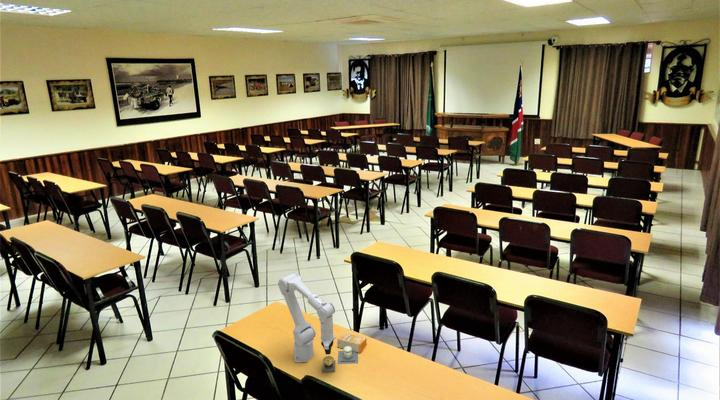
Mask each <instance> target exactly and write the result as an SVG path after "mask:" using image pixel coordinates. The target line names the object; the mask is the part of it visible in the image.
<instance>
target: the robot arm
mask: <svg viewBox="0 0 720 400" xmlns="http://www.w3.org/2000/svg"><path fill="white" fill-rule="evenodd" d="M302 280H303V278H302V276H301V275H300V274H299V273H298V272H296V271H294V272H292V273H290V274H288V275H286V276H284V277H282V278H279V280H278V282H277V283H278V284H277V285H278V288H279V291H280V293H281V295H282V296H283V298H284V300H285V303H286V305H287V308H288V310H289V313H290V315H291V318H292V321H293V322H294V325H295V327H294V329H293V332H292V334H293V340H294V343H293V356H294V357H293V358H294V363H308V361H310V360H311V359H313V357H314V343H313V342H314V340H315V338H316V335H317V334H316V330H315V328H314V327H313V325H312V323H311V322H308V321H306V319H305V317H304V314H303V312H302V309H301V306H300V304H299V302H298V299H297V297H296V294H295V291H297V292H298V293H299V294H301V295H302V296H303V297H305V299H307V303H308V304H309V305H310V307H312V308H313V309H314V311H316V313H317V317H318V320H319V323H320V340H321V341H320V342H321V343H320V344H321V346H322V348H323V350H324V352H325V353H324V354H325V355H331V353H332V347H333V345H334V340H336V337H337V335H336V334H334V319H333V317H334V316H333V315H334V314H335V313H336V308H335V306H334V304H332V303H331V302H329V301H327V300H324V299H323V298H322V297H321V296H320V295H319V294H318V293H314V292H312V291H311V290H310V289H309V288H308V287H307V285H306V284H305V283H304V282H303V281H302Z"/></svg>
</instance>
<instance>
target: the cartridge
mask: <svg viewBox="0 0 720 400" xmlns="http://www.w3.org/2000/svg"><path fill="white" fill-rule="evenodd" d="M343 351H344V358H345V359H346V360H349V359H351V358H352V348H351V347H350V346H346V347H344V349H343Z"/></svg>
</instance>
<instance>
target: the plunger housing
mask: <svg viewBox="0 0 720 400" xmlns="http://www.w3.org/2000/svg"><path fill="white" fill-rule="evenodd" d="M321 372H322V374H323V373H327V374H328V373H336V360H335V359H334V362H333V363H332V367H326V364H324V362H323V361H322V368H321Z"/></svg>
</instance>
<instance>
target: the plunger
mask: <svg viewBox="0 0 720 400" xmlns="http://www.w3.org/2000/svg"><path fill="white" fill-rule="evenodd" d="M334 360H335V358H334V357H333V356H330V355H327V356H324V357H323V359H322V363H323V362H324V364H326V366H325V367H333V366H332V363H333V362H334Z"/></svg>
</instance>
